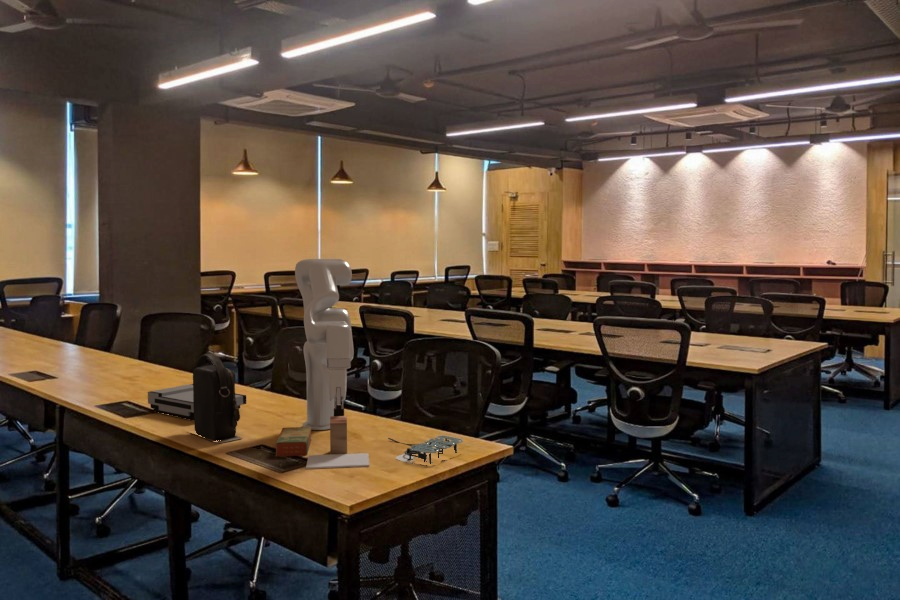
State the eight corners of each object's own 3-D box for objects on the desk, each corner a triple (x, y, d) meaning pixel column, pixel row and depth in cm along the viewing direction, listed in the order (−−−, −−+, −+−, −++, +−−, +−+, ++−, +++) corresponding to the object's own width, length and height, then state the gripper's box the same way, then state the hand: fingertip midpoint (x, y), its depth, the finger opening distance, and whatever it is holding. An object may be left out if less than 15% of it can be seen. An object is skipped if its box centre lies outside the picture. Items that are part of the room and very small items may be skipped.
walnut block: (330, 451, 224) (330, 416, 223) (347, 450, 224) (346, 415, 224) (330, 455, 219) (330, 420, 218) (347, 455, 220) (346, 419, 219)
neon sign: (399, 425, 241) (472, 439, 224) (399, 438, 241) (472, 452, 224) (355, 439, 224) (431, 454, 207) (356, 452, 224) (431, 469, 207)
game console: (201, 423, 260) (200, 401, 260) (148, 412, 278) (147, 391, 277) (246, 413, 277) (246, 392, 277) (193, 403, 295) (193, 383, 294)
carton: (311, 440, 237) (311, 426, 237) (307, 456, 219) (307, 441, 219) (282, 441, 236) (282, 426, 236) (275, 457, 218) (275, 441, 218)
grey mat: (308, 456, 217) (308, 455, 217) (368, 454, 220) (368, 453, 220) (306, 468, 206) (306, 467, 206) (369, 466, 208) (369, 464, 208)
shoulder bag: (185, 432, 247) (183, 351, 245) (210, 427, 254) (208, 348, 252) (217, 444, 232) (215, 358, 230) (243, 439, 238) (241, 355, 236)
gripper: (327, 360, 232) (327, 416, 233) (325, 367, 217) (326, 427, 218) (350, 359, 233) (351, 415, 234) (350, 366, 218) (351, 426, 219)
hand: (339, 420), depth 226 cm, fingers closed
